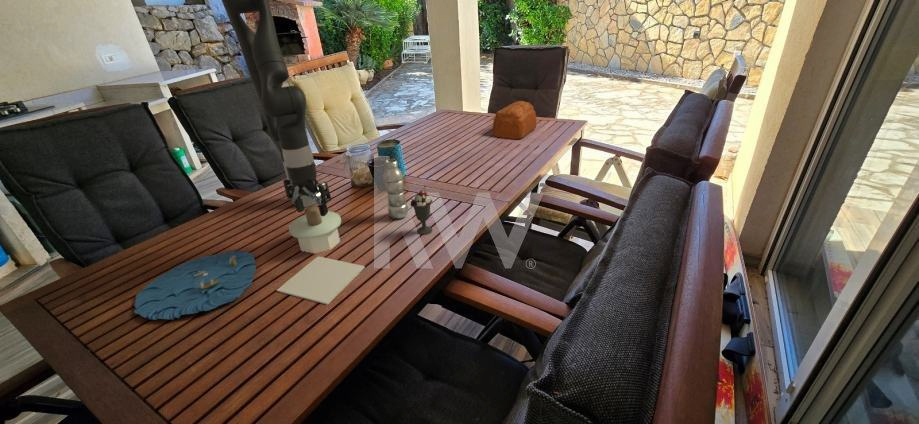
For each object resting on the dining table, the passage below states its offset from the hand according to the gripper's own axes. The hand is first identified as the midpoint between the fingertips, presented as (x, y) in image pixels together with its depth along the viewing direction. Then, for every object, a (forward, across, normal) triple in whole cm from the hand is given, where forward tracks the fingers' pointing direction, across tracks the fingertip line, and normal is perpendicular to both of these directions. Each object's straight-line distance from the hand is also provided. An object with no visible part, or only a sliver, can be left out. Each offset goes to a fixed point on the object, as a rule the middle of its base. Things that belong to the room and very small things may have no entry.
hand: (312, 213), depth 117 cm
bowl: (+10, 0, 0) cm, 10 cm away
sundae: (+10, +28, +16) cm, 34 cm away
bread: (+11, +28, +125) cm, 129 cm away
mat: (+10, +13, -15) cm, 22 cm away
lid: (+4, 0, 0) cm, 4 cm away
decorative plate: (+11, -16, -27) cm, 34 cm away
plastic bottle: (+10, +15, +22) cm, 29 cm away
